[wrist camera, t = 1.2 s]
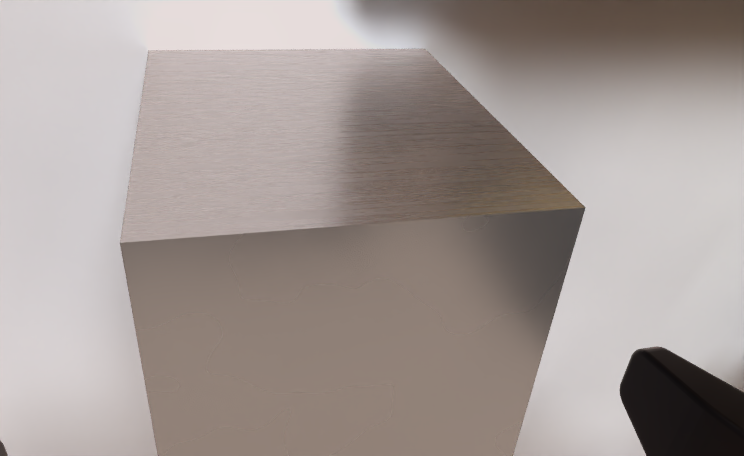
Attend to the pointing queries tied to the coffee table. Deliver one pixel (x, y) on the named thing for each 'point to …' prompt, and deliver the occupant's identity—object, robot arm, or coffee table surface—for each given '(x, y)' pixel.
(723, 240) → the coffee table surface
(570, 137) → the coffee table surface
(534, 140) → the coffee table surface
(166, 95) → the brushed metal block
